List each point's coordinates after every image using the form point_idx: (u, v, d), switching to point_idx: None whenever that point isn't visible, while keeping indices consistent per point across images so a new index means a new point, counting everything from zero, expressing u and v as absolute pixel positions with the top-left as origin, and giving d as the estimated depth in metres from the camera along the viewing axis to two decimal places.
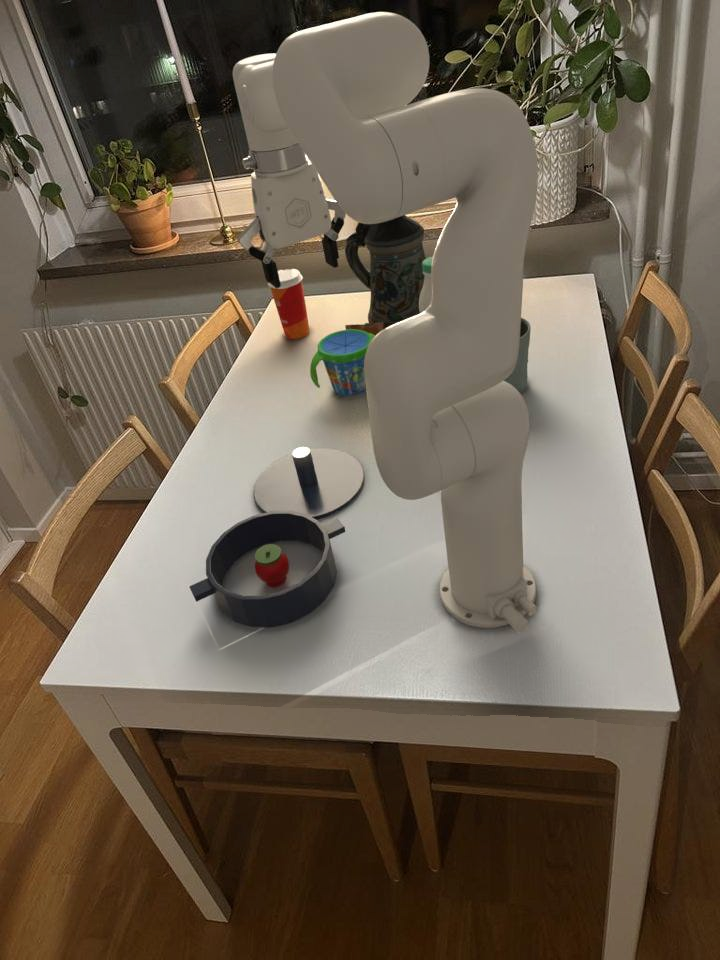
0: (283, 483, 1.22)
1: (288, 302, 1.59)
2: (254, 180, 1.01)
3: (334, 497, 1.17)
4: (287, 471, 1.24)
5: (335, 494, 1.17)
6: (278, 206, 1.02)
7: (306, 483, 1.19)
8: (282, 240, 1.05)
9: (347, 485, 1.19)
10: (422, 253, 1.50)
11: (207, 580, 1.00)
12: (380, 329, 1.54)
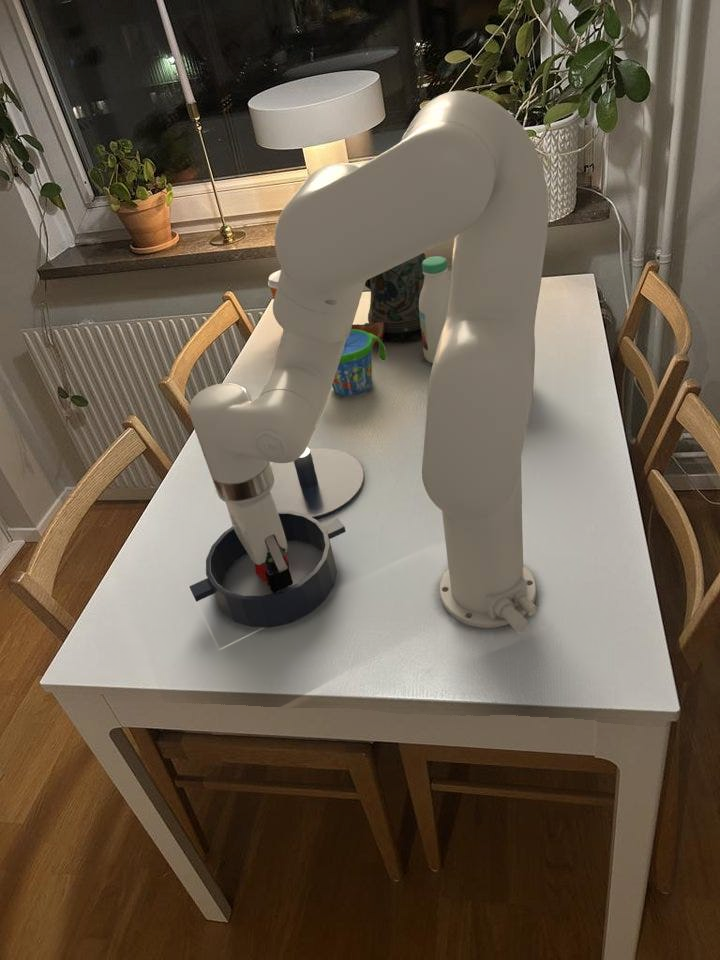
0: (283, 483, 1.22)
1: None
2: None
3: (334, 497, 1.17)
4: (287, 471, 1.24)
5: (335, 494, 1.17)
6: (227, 506, 0.98)
7: (306, 483, 1.19)
8: (235, 530, 1.01)
9: (347, 485, 1.19)
10: (422, 253, 1.50)
11: (207, 580, 1.00)
12: (380, 329, 1.54)
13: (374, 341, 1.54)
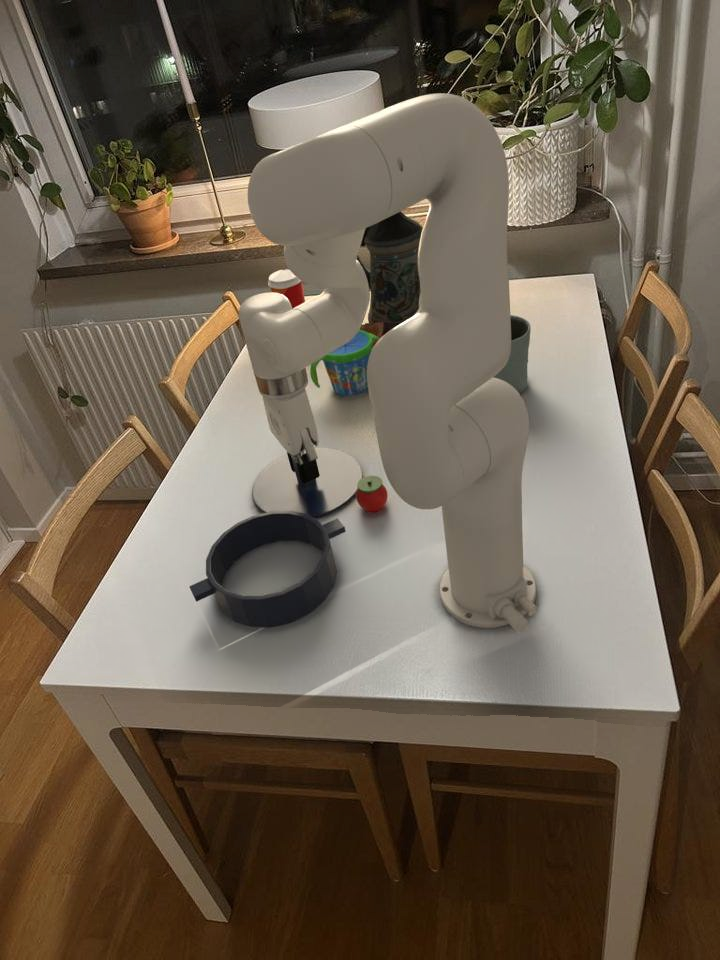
0: (281, 483, 1.22)
1: None
2: None
3: (333, 496, 1.17)
4: (285, 471, 1.24)
5: (334, 493, 1.18)
6: (266, 406, 1.13)
7: (305, 483, 1.20)
8: (271, 430, 1.17)
9: (346, 484, 1.19)
10: None
11: (207, 580, 1.00)
12: (380, 329, 1.54)
13: (374, 341, 1.54)
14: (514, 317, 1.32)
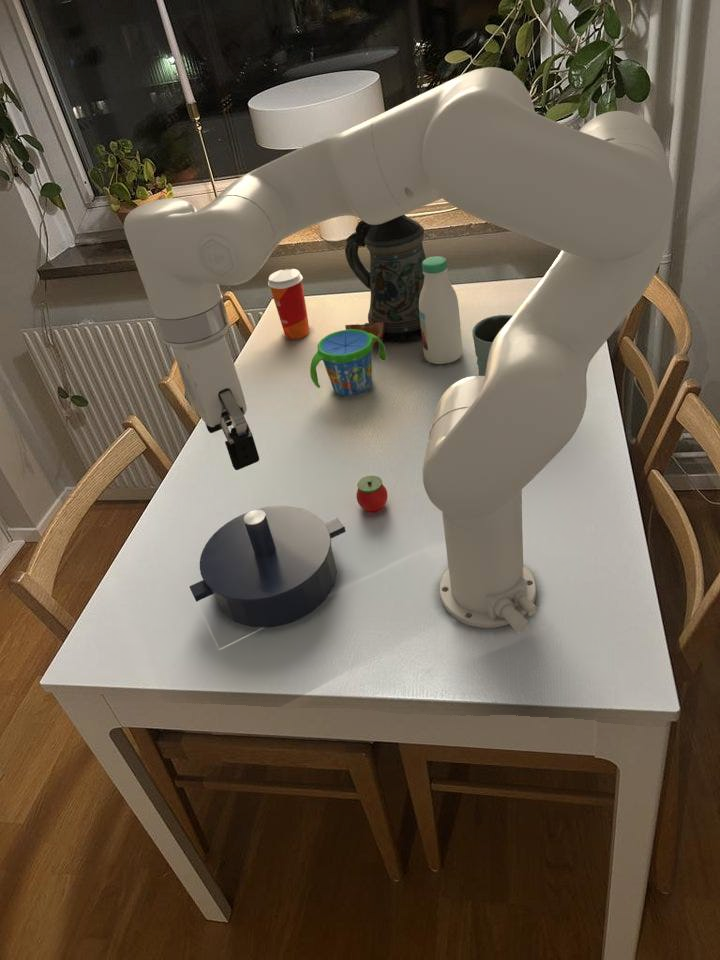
0: (235, 552, 1.02)
1: (288, 302, 1.59)
2: None
3: (294, 570, 0.97)
4: (240, 536, 1.05)
5: (296, 566, 0.98)
6: (177, 362, 0.85)
7: (262, 552, 1.00)
8: (187, 395, 0.88)
9: (311, 554, 0.99)
10: (422, 253, 1.50)
11: None
12: (380, 329, 1.54)
13: (374, 341, 1.54)
14: None
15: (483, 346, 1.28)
